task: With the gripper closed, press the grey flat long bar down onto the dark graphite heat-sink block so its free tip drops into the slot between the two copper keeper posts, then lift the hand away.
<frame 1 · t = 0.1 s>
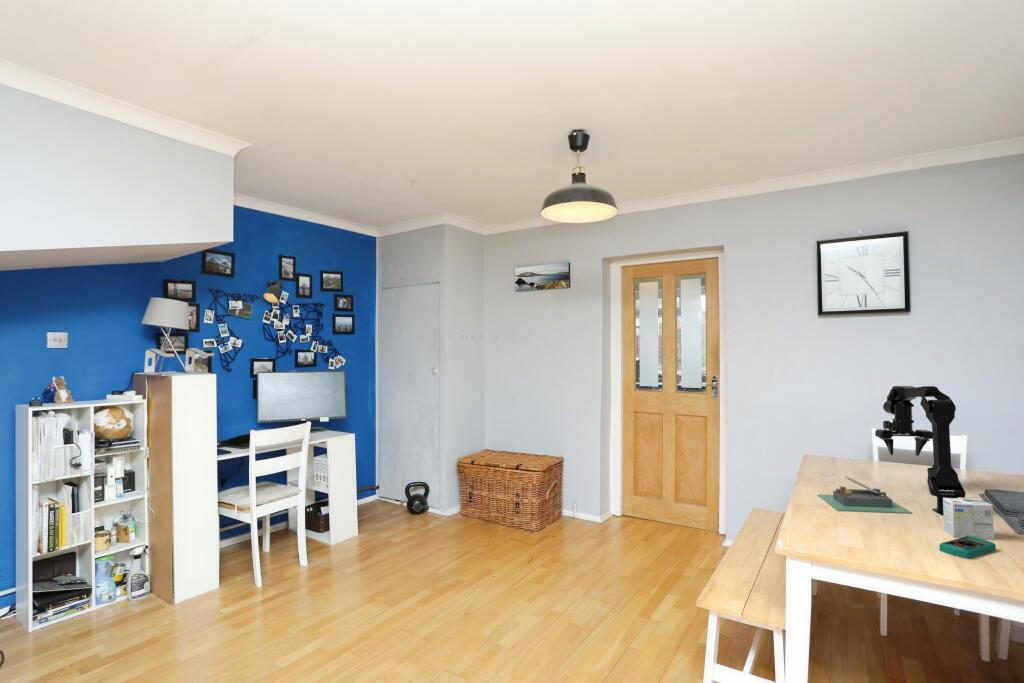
hand: (904, 455, 215), 15 cm above the table, fingers open, 9 cm apart
digital multimeter: (967, 552, 155), on the table
board: (861, 504, 200), on the table
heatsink: (861, 496, 200), on the board
light bulb box: (968, 535, 167), on the table
grey flat long bar: (861, 485, 200), point 7 cm above the table, hinge at 28.0°
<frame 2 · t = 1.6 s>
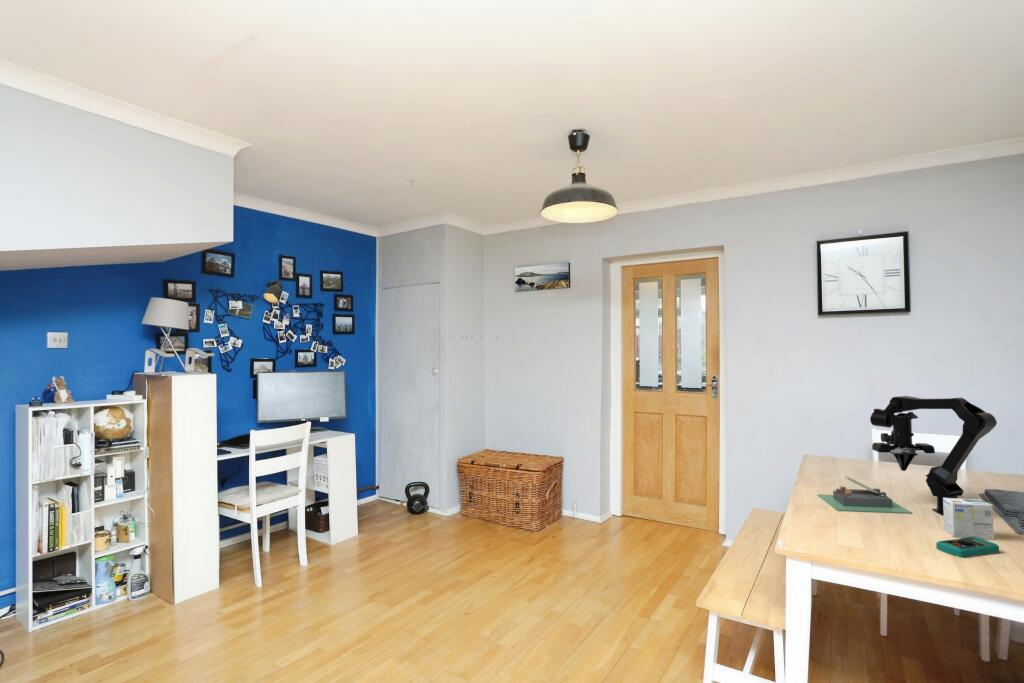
hand: (903, 470, 201), 12 cm above the table, fingers closed
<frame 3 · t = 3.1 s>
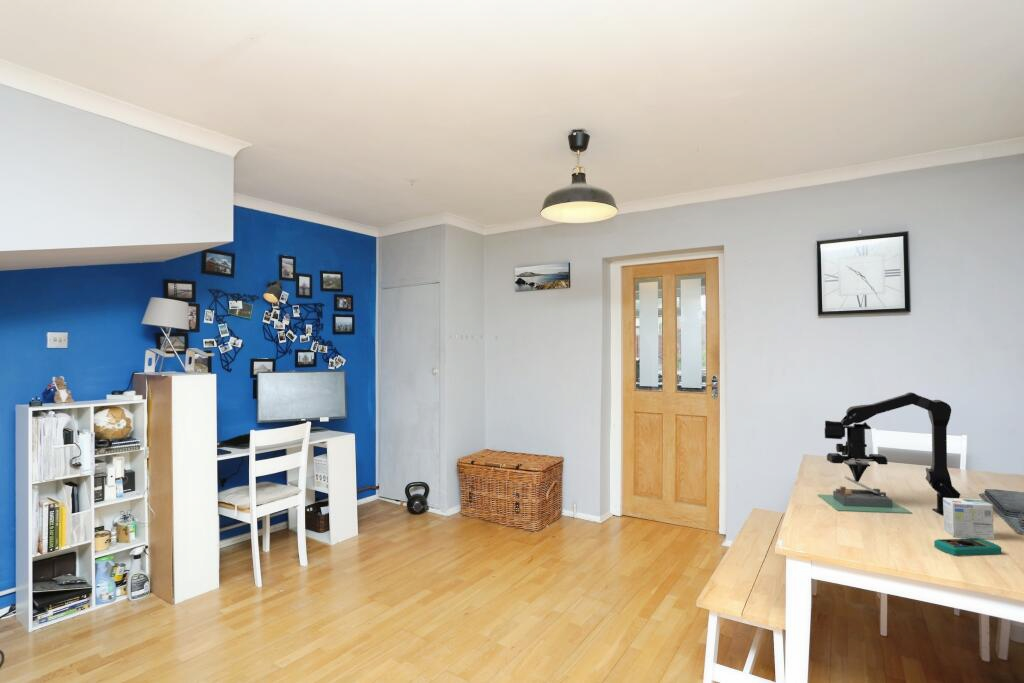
hand: (857, 481, 200), 8 cm above the table, fingers closed
grey flat long bar: (861, 485, 200), point 7 cm above the table, hinge at 27.4°, touching gripper
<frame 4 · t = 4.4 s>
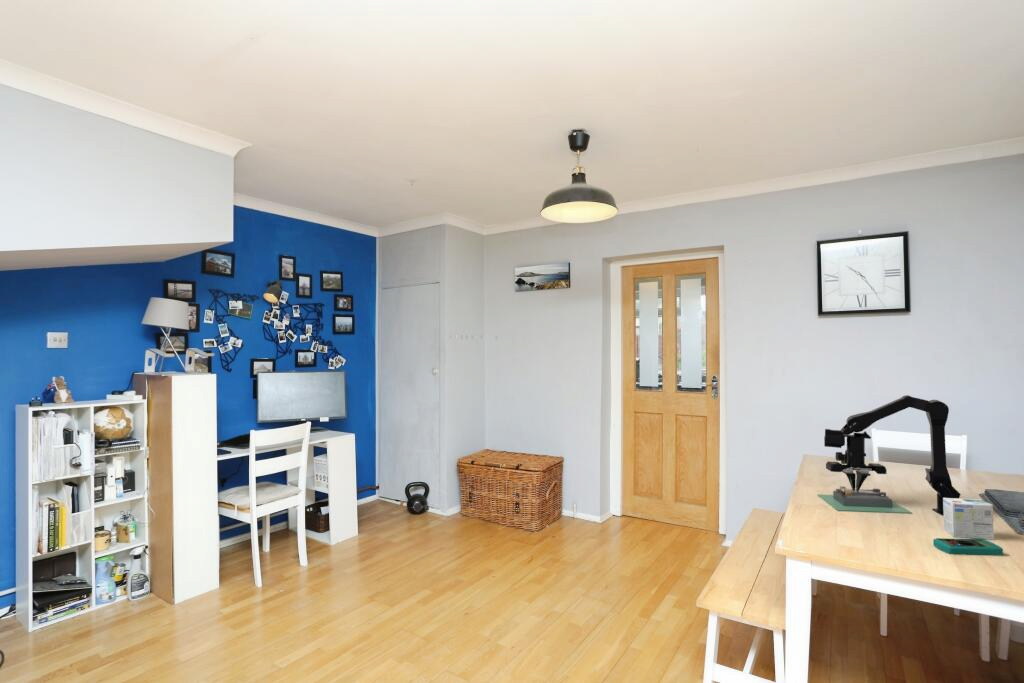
hand: (855, 490, 201), 5 cm above the table, fingers closed, pressing on grey flat long bar
grey flat long bar: (859, 491, 200), point 5 cm above the table, hinge at 4.7°, touching gripper
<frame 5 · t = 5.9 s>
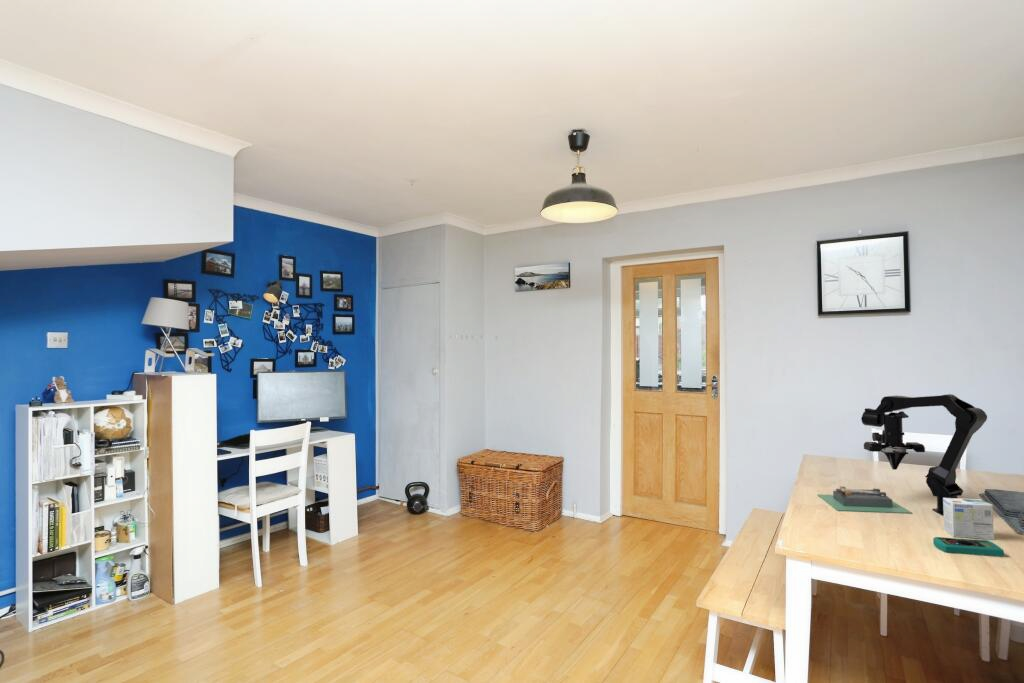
hand: (894, 469, 203), 12 cm above the table, fingers closed
grey flat long bar: (859, 491, 200), point 5 cm above the table, hinge at 4.6°
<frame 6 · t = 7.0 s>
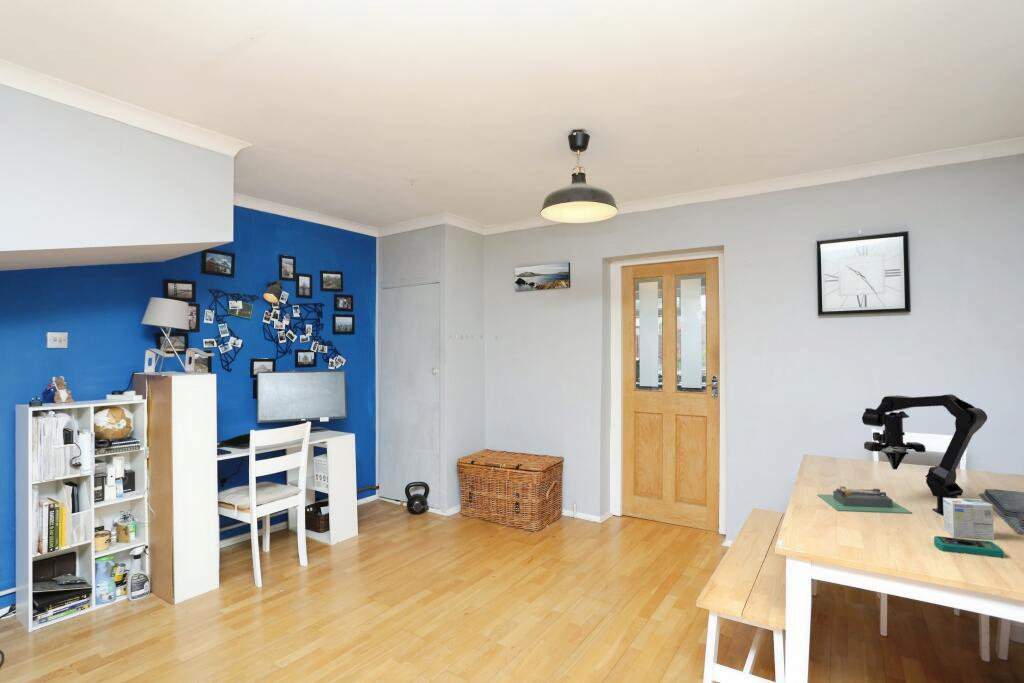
hand: (894, 469, 203), 12 cm above the table, fingers closed
at the end: grey flat long bar at +5° (first picture: +28°) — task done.
